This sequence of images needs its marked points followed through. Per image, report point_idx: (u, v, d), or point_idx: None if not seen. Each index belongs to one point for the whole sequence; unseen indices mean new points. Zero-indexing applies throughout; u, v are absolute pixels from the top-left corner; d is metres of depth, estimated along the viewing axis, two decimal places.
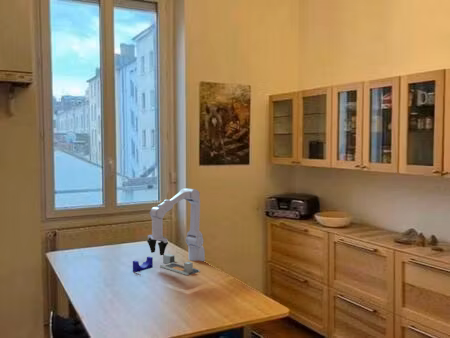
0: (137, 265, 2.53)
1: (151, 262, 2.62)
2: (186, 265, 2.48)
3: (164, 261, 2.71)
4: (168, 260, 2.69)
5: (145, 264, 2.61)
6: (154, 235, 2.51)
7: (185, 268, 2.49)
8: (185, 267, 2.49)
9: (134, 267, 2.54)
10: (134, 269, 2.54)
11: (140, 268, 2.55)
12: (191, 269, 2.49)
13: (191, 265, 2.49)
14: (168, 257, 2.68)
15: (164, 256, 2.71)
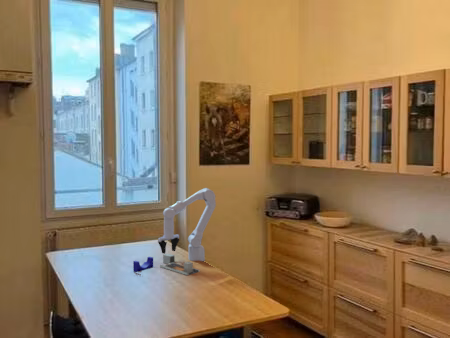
0: (138, 265, 2.53)
1: (152, 262, 2.62)
2: (186, 265, 2.48)
3: (164, 261, 2.71)
4: (168, 260, 2.69)
5: (146, 264, 2.61)
6: None
7: (185, 268, 2.49)
8: (185, 267, 2.49)
9: (135, 267, 2.54)
10: (135, 269, 2.54)
11: (141, 268, 2.55)
12: (191, 269, 2.49)
13: (191, 265, 2.49)
14: (168, 257, 2.68)
15: (164, 256, 2.71)
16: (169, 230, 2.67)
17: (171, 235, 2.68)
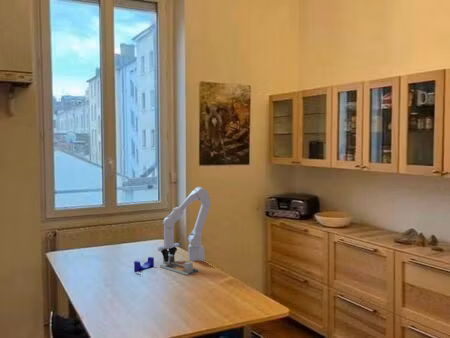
0: (139, 265, 2.53)
1: (152, 262, 2.61)
2: (186, 265, 2.48)
3: (164, 261, 2.71)
4: (168, 260, 2.69)
5: (146, 264, 2.61)
6: None
7: (185, 268, 2.49)
8: (185, 267, 2.49)
9: (136, 267, 2.53)
10: (136, 270, 2.53)
11: (142, 268, 2.55)
12: (191, 269, 2.49)
13: (191, 265, 2.49)
14: (168, 257, 2.68)
15: None
16: (169, 239, 2.67)
17: (171, 244, 2.68)
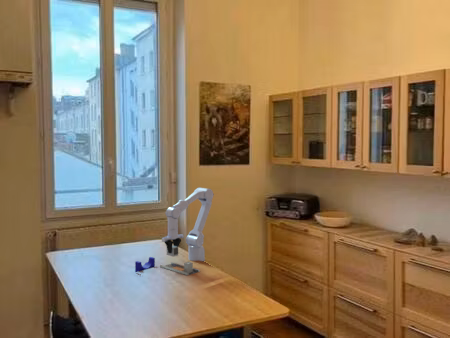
0: (140, 266, 2.52)
1: (153, 262, 2.61)
2: (186, 265, 2.48)
3: (167, 253, 2.64)
4: (172, 251, 2.61)
5: (147, 265, 2.60)
6: None
7: (185, 268, 2.49)
8: (185, 267, 2.49)
9: (137, 268, 2.53)
10: (137, 270, 2.53)
11: (143, 269, 2.54)
12: (191, 269, 2.49)
13: (191, 265, 2.49)
14: (172, 248, 2.61)
15: None
16: (173, 230, 2.60)
17: (175, 235, 2.60)
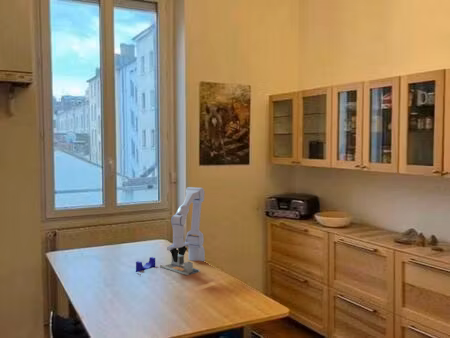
0: (140, 266, 2.52)
1: (154, 263, 2.61)
2: (186, 265, 2.48)
3: (173, 261, 2.55)
4: (177, 260, 2.53)
5: (148, 265, 2.60)
6: None
7: (185, 268, 2.49)
8: (185, 267, 2.49)
9: (137, 268, 2.52)
10: (138, 270, 2.52)
11: (143, 269, 2.54)
12: (191, 269, 2.49)
13: (191, 265, 2.49)
14: None
15: None
16: (179, 238, 2.51)
17: (181, 243, 2.52)
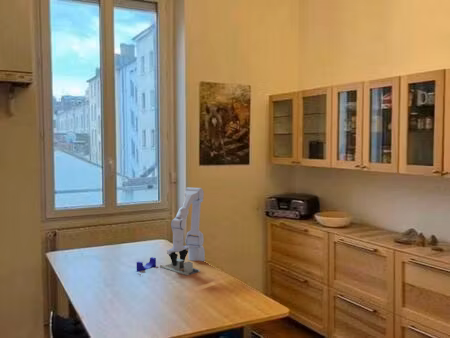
0: (141, 266, 2.52)
1: (154, 263, 2.61)
2: (186, 265, 2.48)
3: (173, 266, 2.55)
4: (177, 265, 2.53)
5: (148, 265, 2.60)
6: None
7: (185, 268, 2.49)
8: (185, 267, 2.49)
9: (138, 268, 2.52)
10: (138, 270, 2.52)
11: (144, 269, 2.54)
12: (191, 269, 2.49)
13: (191, 265, 2.49)
14: (177, 262, 2.53)
15: None
16: (179, 241, 2.51)
17: (181, 247, 2.52)
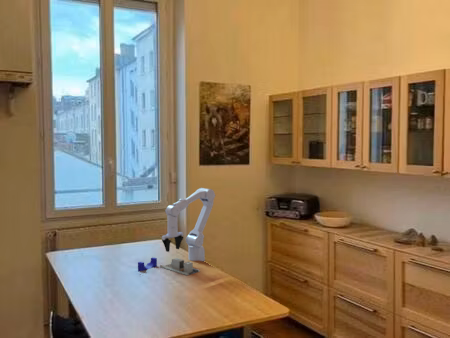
0: (143, 266, 2.51)
1: (155, 263, 2.60)
2: (186, 265, 2.48)
3: (173, 266, 2.55)
4: (177, 265, 2.53)
5: (149, 265, 2.59)
6: None
7: (185, 268, 2.49)
8: (185, 267, 2.49)
9: (139, 268, 2.52)
10: None
11: (145, 269, 2.53)
12: (191, 269, 2.49)
13: (191, 265, 2.49)
14: (177, 262, 2.53)
15: (173, 261, 2.55)
16: (173, 228, 2.61)
17: (175, 233, 2.62)
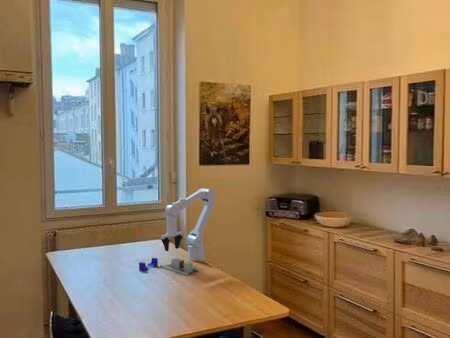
0: (144, 266, 2.51)
1: (156, 263, 2.60)
2: (186, 265, 2.48)
3: (173, 266, 2.55)
4: (177, 265, 2.53)
5: (150, 265, 2.59)
6: None
7: (185, 268, 2.49)
8: (185, 267, 2.49)
9: (141, 268, 2.51)
10: None
11: (146, 269, 2.53)
12: (191, 269, 2.49)
13: (191, 265, 2.49)
14: (177, 262, 2.53)
15: (173, 261, 2.55)
16: (172, 227, 2.62)
17: (174, 232, 2.63)
